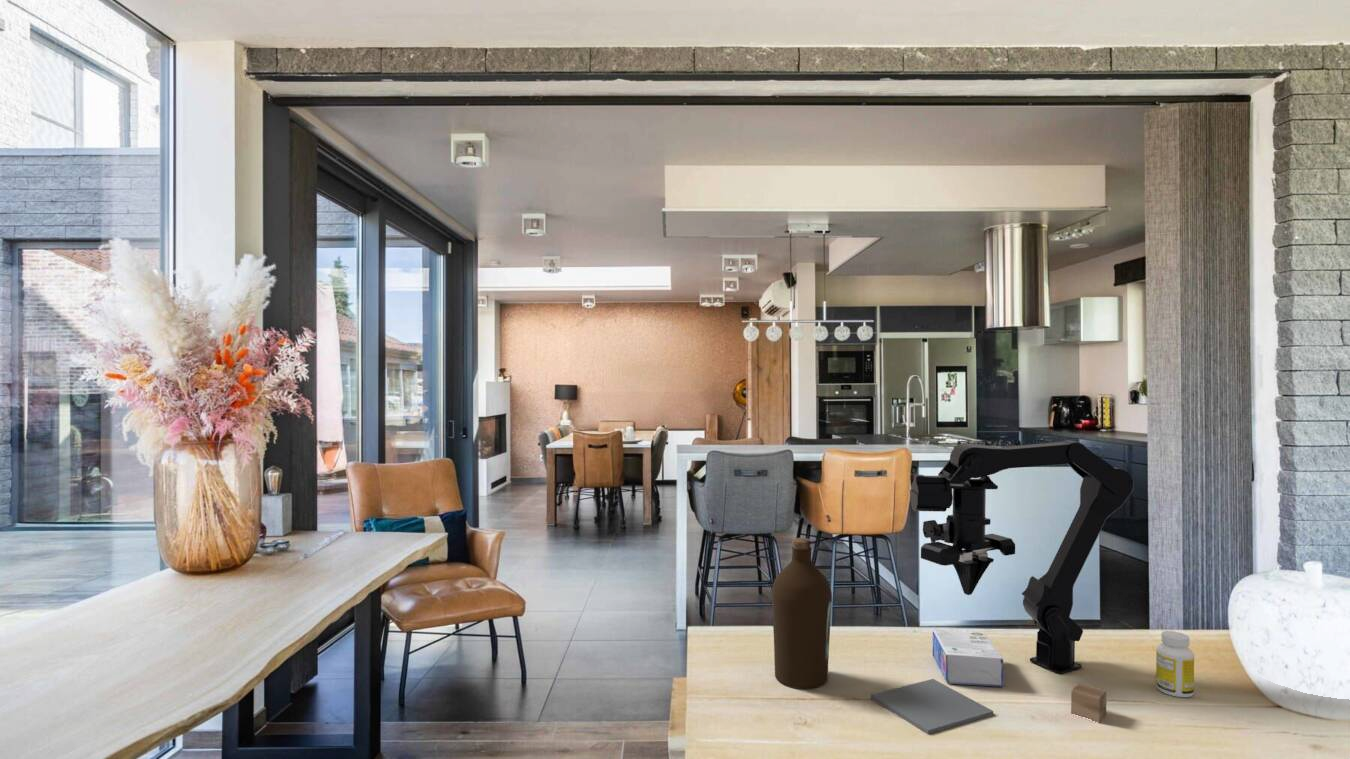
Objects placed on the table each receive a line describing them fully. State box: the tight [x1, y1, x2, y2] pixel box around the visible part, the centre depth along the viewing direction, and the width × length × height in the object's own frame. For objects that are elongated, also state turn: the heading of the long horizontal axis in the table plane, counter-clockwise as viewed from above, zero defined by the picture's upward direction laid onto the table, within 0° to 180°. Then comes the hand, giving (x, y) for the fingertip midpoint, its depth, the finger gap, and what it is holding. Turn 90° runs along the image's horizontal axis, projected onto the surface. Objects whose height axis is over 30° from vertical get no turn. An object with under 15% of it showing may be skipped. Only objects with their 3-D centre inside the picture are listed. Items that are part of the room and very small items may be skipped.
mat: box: [870, 678, 994, 735], centre depth 120 cm, size 14×13×1 cm
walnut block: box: [1070, 682, 1108, 724], centre depth 118 cm, size 4×4×4 cm
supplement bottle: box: [1155, 630, 1195, 698], centre depth 126 cm, size 5×5×10 cm
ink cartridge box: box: [932, 629, 1004, 688], centre depth 135 cm, size 10×6×14 cm
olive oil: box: [771, 537, 833, 690], centre depth 131 cm, size 11×11×25 cm
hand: (967, 594), depth 137 cm, fingers closed
